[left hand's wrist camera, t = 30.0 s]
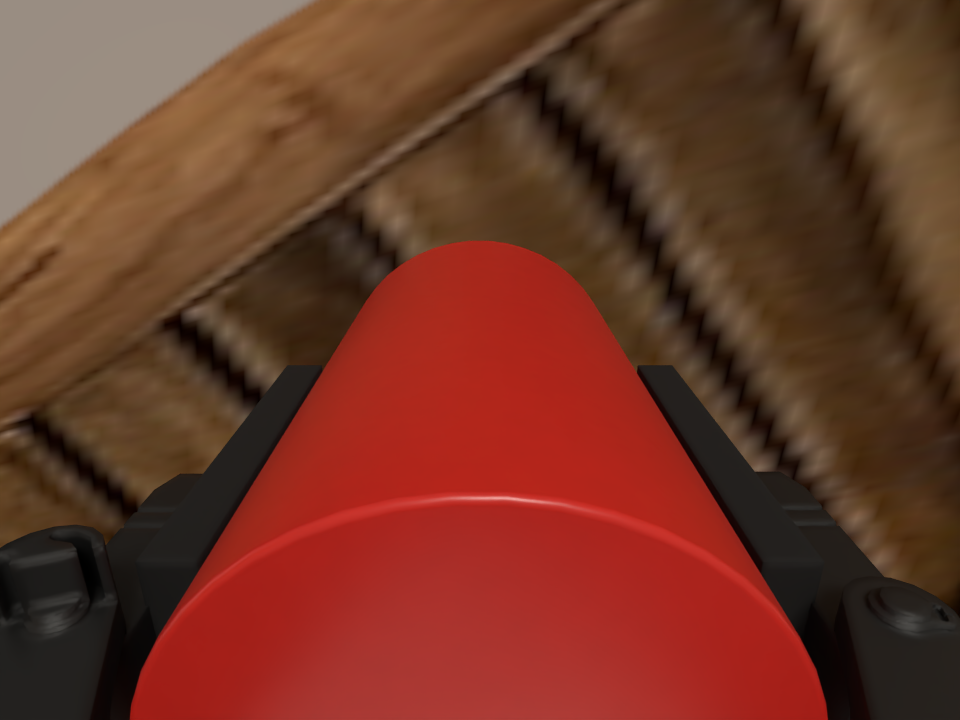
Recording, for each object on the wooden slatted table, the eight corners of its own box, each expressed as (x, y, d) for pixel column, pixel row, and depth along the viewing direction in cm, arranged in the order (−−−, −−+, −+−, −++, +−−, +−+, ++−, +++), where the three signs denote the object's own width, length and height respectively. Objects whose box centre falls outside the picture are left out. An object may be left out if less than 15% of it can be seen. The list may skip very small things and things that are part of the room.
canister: (511, 520, 18) (554, 1053, 8) (303, 402, 17) (20, 857, 7) (662, 335, 16) (989, 724, 6) (439, 183, 15) (344, 336, 4)
